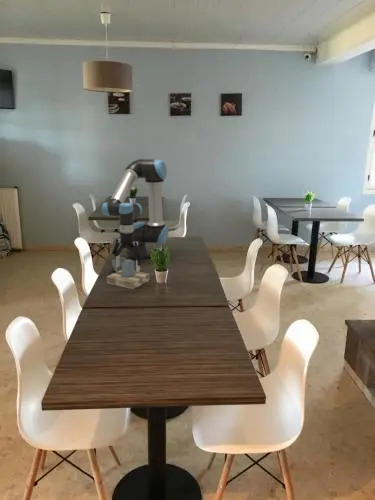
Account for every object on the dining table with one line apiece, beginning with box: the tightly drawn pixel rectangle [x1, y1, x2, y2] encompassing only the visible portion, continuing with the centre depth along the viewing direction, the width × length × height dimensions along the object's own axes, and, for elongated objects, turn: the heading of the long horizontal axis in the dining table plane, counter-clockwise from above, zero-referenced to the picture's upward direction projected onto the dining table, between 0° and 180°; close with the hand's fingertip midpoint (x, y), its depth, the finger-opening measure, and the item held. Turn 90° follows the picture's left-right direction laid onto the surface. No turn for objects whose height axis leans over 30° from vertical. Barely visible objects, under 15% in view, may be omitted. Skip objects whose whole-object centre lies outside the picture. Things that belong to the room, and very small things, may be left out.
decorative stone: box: [111, 256, 127, 273], centre depth 252 cm, size 13×11×10 cm
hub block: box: [106, 270, 151, 290], centre depth 234 cm, size 16×18×4 cm
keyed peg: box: [122, 258, 135, 278], centre depth 233 cm, size 4×6×13 cm, turn 151°
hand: (128, 268), depth 233 cm, fingers open, 13 cm apart
